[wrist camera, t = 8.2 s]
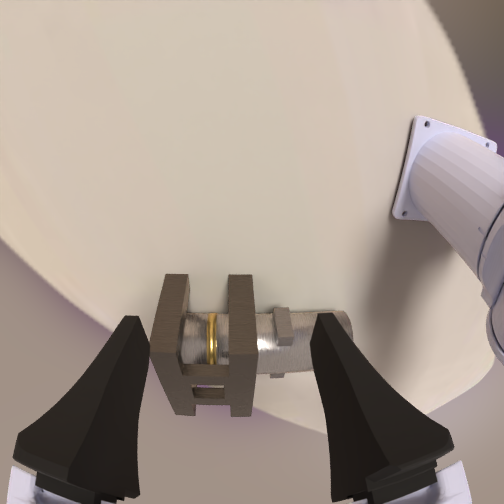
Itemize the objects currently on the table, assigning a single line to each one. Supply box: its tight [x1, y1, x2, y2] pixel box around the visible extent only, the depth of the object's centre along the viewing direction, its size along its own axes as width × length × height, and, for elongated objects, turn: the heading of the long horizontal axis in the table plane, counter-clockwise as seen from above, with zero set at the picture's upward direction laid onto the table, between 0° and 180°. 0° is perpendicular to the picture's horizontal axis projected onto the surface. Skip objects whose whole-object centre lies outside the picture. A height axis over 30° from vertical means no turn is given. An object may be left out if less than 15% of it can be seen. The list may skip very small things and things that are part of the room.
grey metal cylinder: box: [181, 307, 353, 378], centre depth 23 cm, size 15×6×5 cm, turn 88°
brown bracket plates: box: [149, 274, 259, 417], centre depth 22 cm, size 7×11×7 cm, turn 178°
